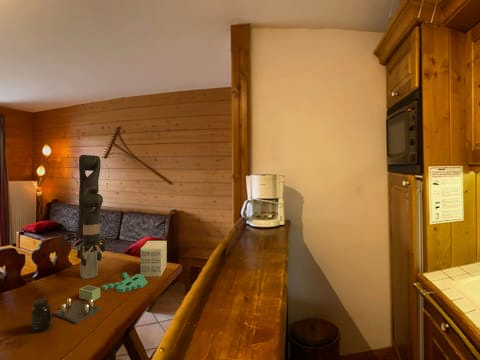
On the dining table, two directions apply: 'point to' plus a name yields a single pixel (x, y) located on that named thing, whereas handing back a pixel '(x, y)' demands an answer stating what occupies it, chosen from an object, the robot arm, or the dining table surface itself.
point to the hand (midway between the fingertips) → (91, 263)
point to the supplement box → (153, 258)
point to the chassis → (77, 311)
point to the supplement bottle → (40, 316)
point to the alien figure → (128, 283)
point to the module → (89, 293)
